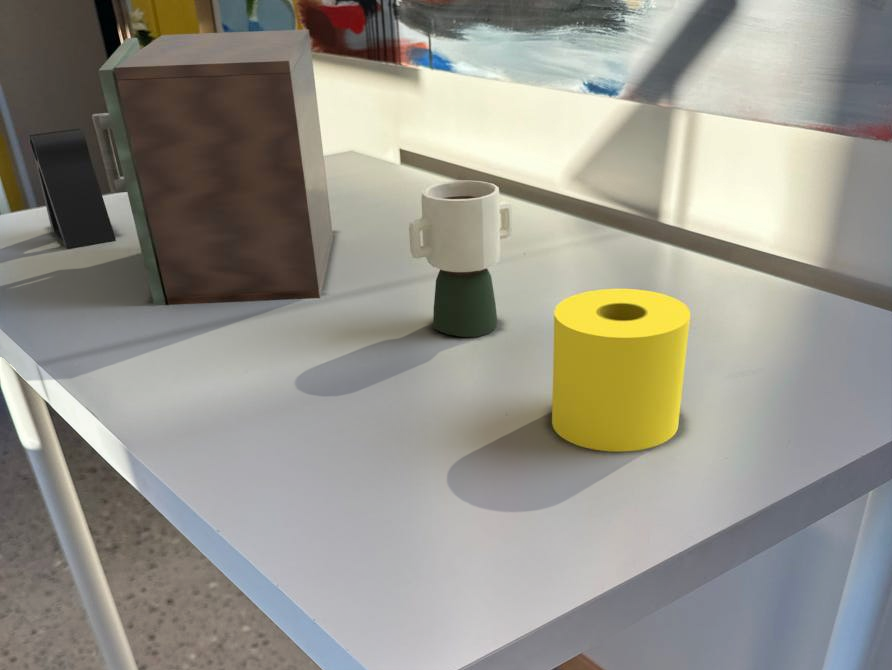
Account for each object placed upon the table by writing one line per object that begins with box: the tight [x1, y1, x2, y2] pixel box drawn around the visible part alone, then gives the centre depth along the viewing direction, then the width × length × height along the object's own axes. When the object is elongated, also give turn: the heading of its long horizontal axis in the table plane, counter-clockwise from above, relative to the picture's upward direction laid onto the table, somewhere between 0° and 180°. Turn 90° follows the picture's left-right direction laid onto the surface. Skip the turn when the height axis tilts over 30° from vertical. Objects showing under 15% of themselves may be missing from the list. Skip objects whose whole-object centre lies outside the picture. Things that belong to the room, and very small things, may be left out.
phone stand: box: [28, 128, 117, 250], centre depth 119 cm, size 9×6×12 cm, turn 30°
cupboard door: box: [91, 37, 168, 307], centre depth 104 cm, size 6×22×22 cm, turn 10°
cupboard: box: [114, 28, 334, 306], centre depth 104 cm, size 16×22×22 cm
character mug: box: [408, 179, 513, 338], centre depth 90 cm, size 11×7×13 cm, turn 123°
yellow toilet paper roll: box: [551, 288, 691, 453], centre depth 75 cm, size 10×10×9 cm
